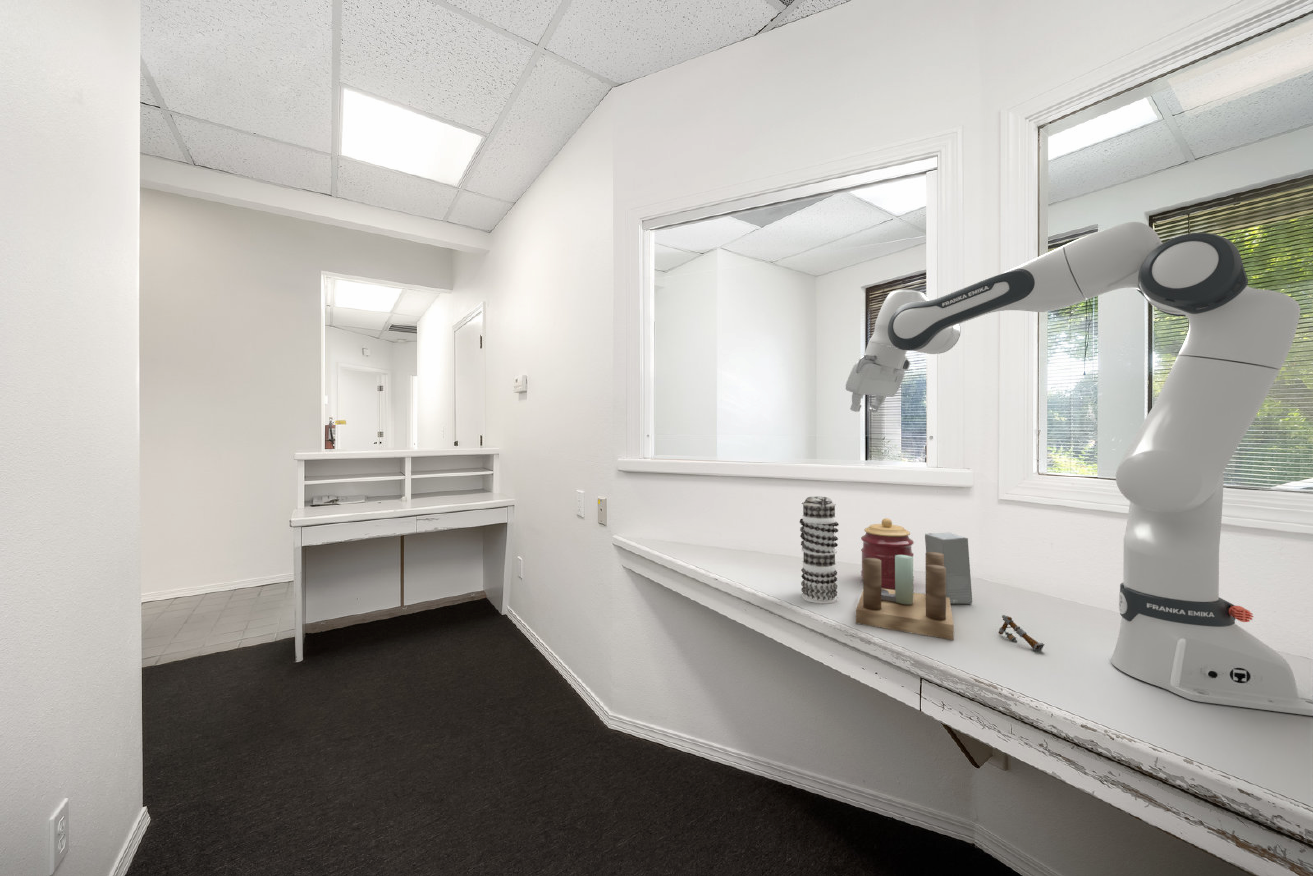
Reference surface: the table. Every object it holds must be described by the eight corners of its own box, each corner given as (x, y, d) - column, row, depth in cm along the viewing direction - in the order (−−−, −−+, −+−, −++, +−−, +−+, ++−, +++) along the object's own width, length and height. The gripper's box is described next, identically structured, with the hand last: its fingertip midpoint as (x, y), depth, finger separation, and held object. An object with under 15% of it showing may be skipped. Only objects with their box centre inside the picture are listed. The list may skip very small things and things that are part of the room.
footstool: (949, 610, 112) (949, 552, 112) (953, 640, 96) (953, 572, 96) (864, 598, 120) (864, 544, 120) (855, 623, 105) (855, 561, 104)
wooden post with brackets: (999, 628, 99) (1007, 612, 97) (1035, 660, 92) (1045, 643, 90) (992, 629, 99) (1000, 612, 97) (1027, 662, 92) (1037, 644, 90)
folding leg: (913, 600, 109) (913, 556, 109) (913, 605, 106) (913, 559, 106) (869, 594, 113) (869, 551, 113) (867, 598, 110) (867, 554, 110)
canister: (920, 592, 125) (919, 523, 124) (865, 588, 128) (865, 521, 127) (906, 577, 137) (906, 515, 137) (857, 574, 140) (857, 513, 140)
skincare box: (973, 604, 115) (973, 538, 115) (942, 604, 115) (942, 538, 115) (952, 593, 124) (952, 531, 124) (923, 593, 124) (923, 531, 124)
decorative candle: (825, 607, 114) (825, 501, 114) (792, 597, 122) (792, 497, 121) (846, 598, 120) (846, 498, 120) (813, 589, 127) (813, 494, 127)
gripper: (875, 356, 109) (854, 414, 113) (913, 364, 122) (893, 416, 126) (850, 350, 114) (831, 406, 118) (889, 358, 127) (871, 408, 131)
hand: (863, 411), depth 122 cm, fingers open, 8 cm apart
